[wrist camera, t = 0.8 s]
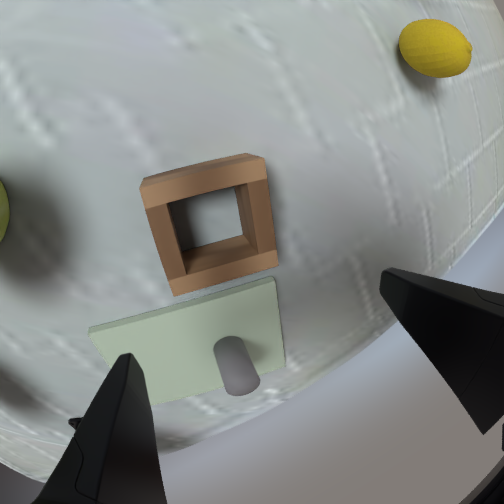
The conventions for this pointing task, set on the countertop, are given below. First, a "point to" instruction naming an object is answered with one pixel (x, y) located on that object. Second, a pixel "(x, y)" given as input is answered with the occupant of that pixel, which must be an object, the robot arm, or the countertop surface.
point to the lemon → (435, 48)
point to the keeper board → (201, 342)
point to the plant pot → (3, 211)
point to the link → (222, 252)
